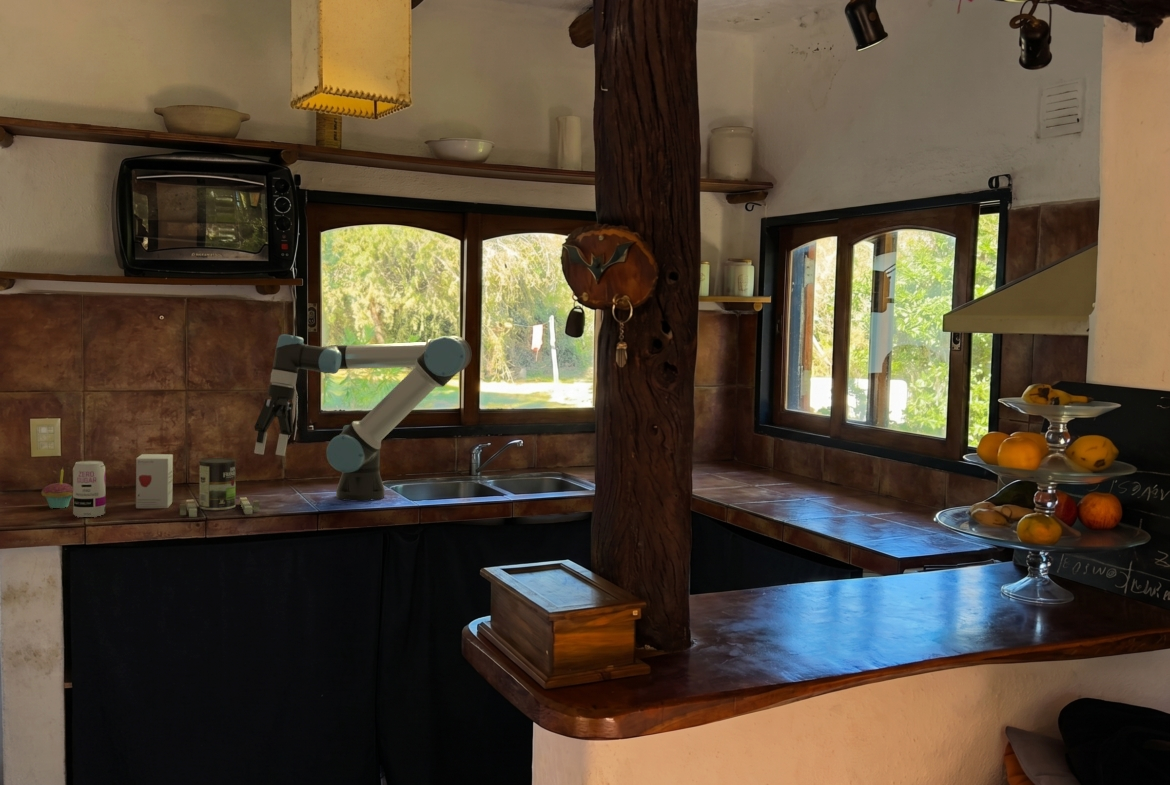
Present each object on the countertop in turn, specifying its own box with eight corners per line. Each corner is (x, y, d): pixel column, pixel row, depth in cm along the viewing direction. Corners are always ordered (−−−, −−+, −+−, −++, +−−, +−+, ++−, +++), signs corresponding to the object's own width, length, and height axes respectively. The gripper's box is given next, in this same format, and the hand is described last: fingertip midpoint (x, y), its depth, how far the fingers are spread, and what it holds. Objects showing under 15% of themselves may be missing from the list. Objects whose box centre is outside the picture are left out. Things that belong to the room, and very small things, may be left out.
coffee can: (242, 505, 309) (242, 458, 307) (223, 511, 299) (223, 463, 297) (211, 502, 311) (211, 456, 310) (191, 509, 301) (191, 461, 299)
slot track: (178, 506, 303) (178, 496, 303) (254, 503, 312) (254, 493, 311) (180, 517, 288) (180, 507, 288) (260, 513, 297) (260, 503, 297)
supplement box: (134, 509, 298) (134, 458, 297) (141, 503, 307) (140, 453, 306) (168, 508, 300) (168, 458, 299) (173, 502, 309) (173, 453, 308)
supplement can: (99, 511, 293) (99, 459, 292) (109, 516, 287) (109, 463, 286) (69, 514, 287) (68, 461, 286) (78, 519, 281) (78, 465, 280)
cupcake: (81, 506, 299) (81, 465, 298) (55, 511, 292) (55, 469, 291) (60, 503, 303) (60, 463, 302) (34, 508, 295) (34, 466, 294)
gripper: (289, 387, 324) (277, 453, 323) (250, 379, 300) (237, 451, 298) (311, 391, 323) (299, 457, 321) (274, 383, 298) (261, 455, 297)
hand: (269, 454), depth 310 cm, fingers open, 13 cm apart
